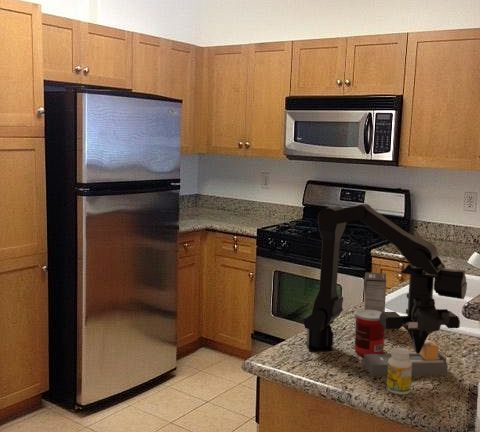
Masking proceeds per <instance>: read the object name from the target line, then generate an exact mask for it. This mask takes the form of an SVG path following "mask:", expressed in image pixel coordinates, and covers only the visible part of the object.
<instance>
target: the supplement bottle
mask: <svg viewBox="0 0 480 432" xmlns="http://www.w3.org/2000/svg"><path fill="white" fill-rule="evenodd" d="M390 351H391V352H390V354H391V355H392V357H390V358H389V360H388V373H387V376H386V380H387V381H386V389H387V390H388V391H389V392H390V393H392V394H396V395H399V396H401V395H402V396H403V395H408V394H409V393H411V388H412V376H411V373H412V362H411V360H410V359H408V358H409V352H410V350H408V349H407V348H403V347H394V348H392V349H391V350H390Z"/></svg>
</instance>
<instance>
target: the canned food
mask: <svg viewBox="0 0 480 432" xmlns="http://www.w3.org/2000/svg"><path fill="white" fill-rule="evenodd" d="M381 313H382V312H380V311H376V310H364V309H361V310H358V311H357V312H356V316H355V330H354V331H355V332H354V333H355V335H354V352H355V353H356V354H357V355H359V356H360V357H363V358H364V354H384V345H385V329H386V328H385V327H384V326H383V325H382V324H381V323H380V322H379V318H380V314H381Z"/></svg>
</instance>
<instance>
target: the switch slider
mask: <svg viewBox="0 0 480 432" xmlns="http://www.w3.org/2000/svg"><path fill="white" fill-rule="evenodd" d="M438 351H439V346H438V345H437V344H436V343H435V342H434V341H433V340H428V339H426V340H425V343H424V345H423V347H422V349H421V351H420V355H421V356H422V357H423V358H424V359H425V360H437V359H438Z"/></svg>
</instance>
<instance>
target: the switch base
mask: <svg viewBox="0 0 480 432" xmlns="http://www.w3.org/2000/svg"><path fill="white" fill-rule="evenodd" d="M390 357H392V355H391V353H382V354H364V357H363V367H364V368H365V369H366V370H367V373H368V374H370V377H372V378H373V377H374V378H375V377H376V378H377V377H387V373H388V360H389V358H390ZM408 359H410V360H411V362H412V373H411V377H414V376H416V377H422V376H424V377H425V376H426V377H427V376H447V375H448V363H447V357H446V356H444V355H443V354H442V353H441V352H440V351H439V350H438V359H437V360H425V359H424V358H423V357H422V356H421V355H420V353H416V352H415V351H414V352H410V351H409V358H408Z"/></svg>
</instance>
